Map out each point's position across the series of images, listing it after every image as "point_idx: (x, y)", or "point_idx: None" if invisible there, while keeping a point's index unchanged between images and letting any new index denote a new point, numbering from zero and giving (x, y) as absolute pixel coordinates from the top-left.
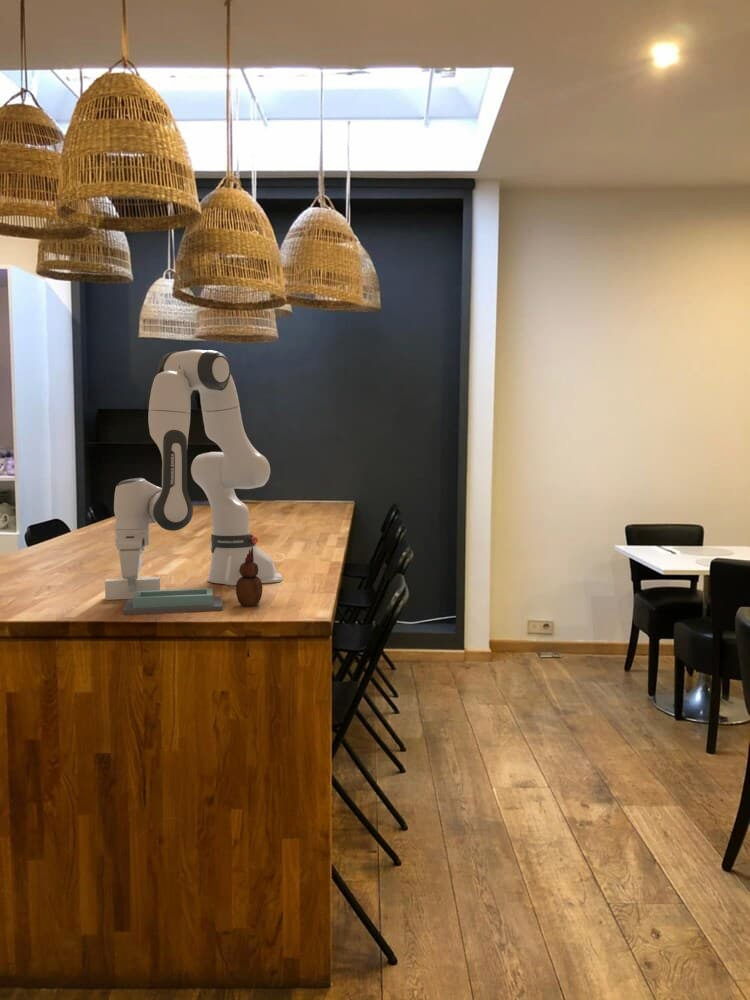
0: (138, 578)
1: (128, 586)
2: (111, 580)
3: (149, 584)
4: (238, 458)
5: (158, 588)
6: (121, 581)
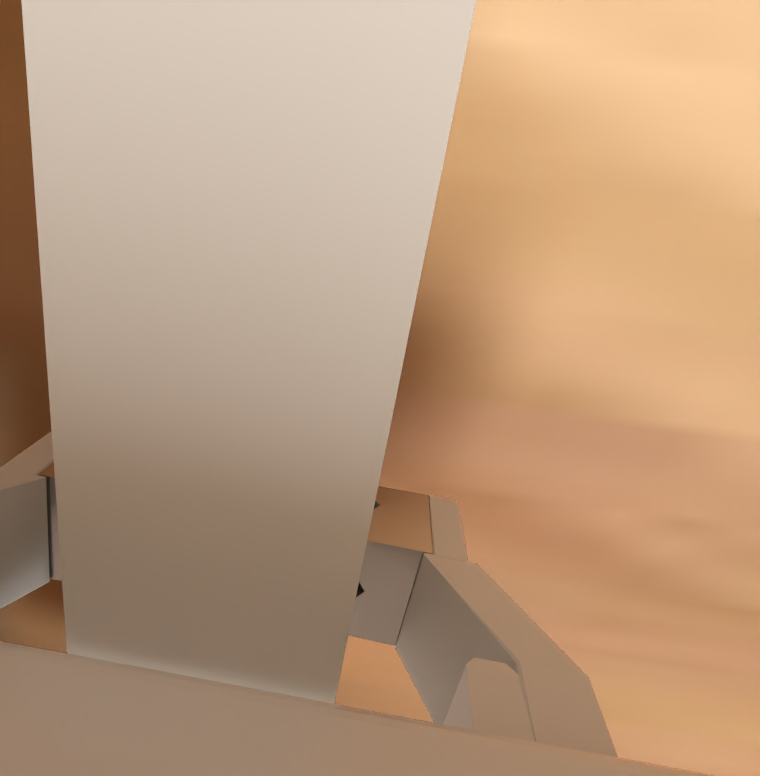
0: None
1: (18, 454)
2: (141, 129)
3: None
4: None
5: None
6: (63, 382)
